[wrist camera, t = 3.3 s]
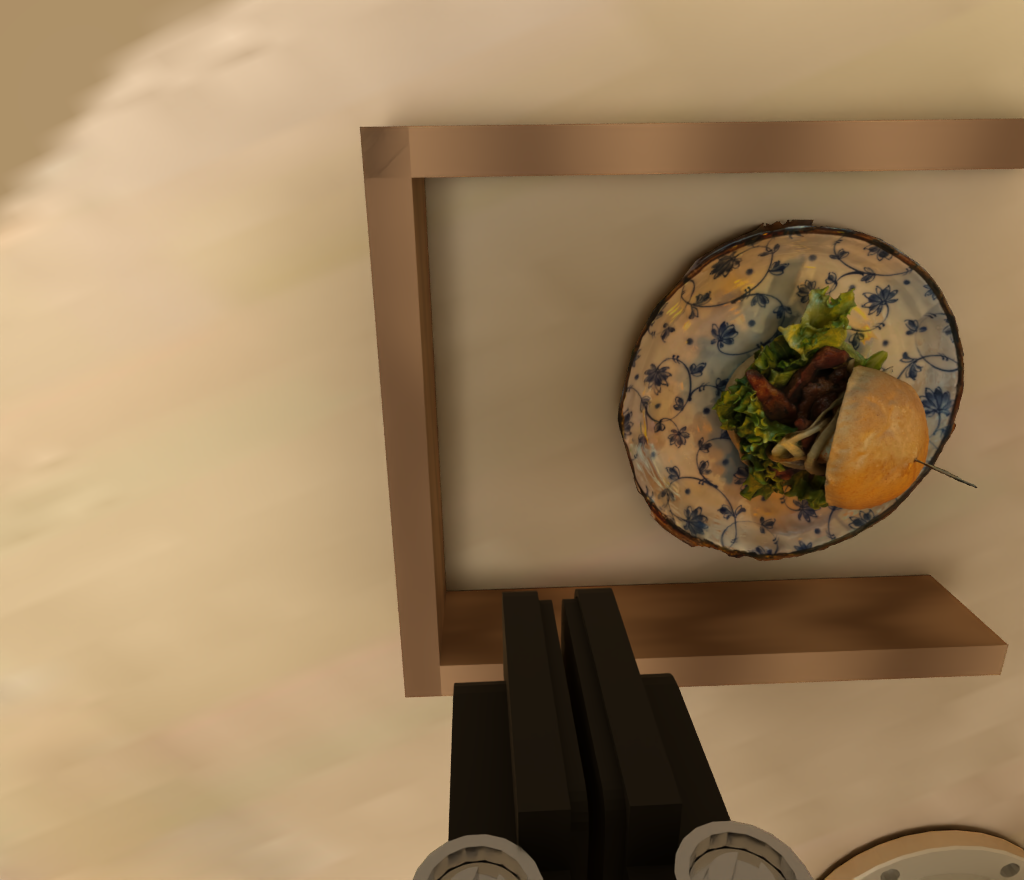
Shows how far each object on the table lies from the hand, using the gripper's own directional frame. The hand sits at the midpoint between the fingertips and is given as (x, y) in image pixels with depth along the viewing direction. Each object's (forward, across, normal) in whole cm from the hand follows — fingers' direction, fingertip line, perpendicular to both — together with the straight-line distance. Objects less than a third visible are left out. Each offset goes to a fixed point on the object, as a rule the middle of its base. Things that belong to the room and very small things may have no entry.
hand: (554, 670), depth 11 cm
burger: (+15, -10, +1) cm, 18 cm away
